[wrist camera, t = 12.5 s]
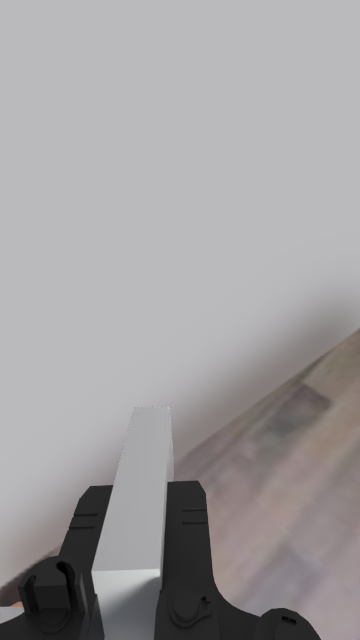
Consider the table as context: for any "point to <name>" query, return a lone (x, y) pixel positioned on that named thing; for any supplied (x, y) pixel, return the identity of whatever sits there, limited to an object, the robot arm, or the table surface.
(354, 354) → the table surface
